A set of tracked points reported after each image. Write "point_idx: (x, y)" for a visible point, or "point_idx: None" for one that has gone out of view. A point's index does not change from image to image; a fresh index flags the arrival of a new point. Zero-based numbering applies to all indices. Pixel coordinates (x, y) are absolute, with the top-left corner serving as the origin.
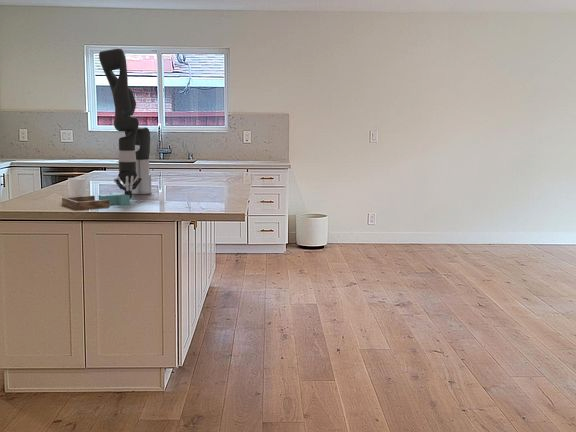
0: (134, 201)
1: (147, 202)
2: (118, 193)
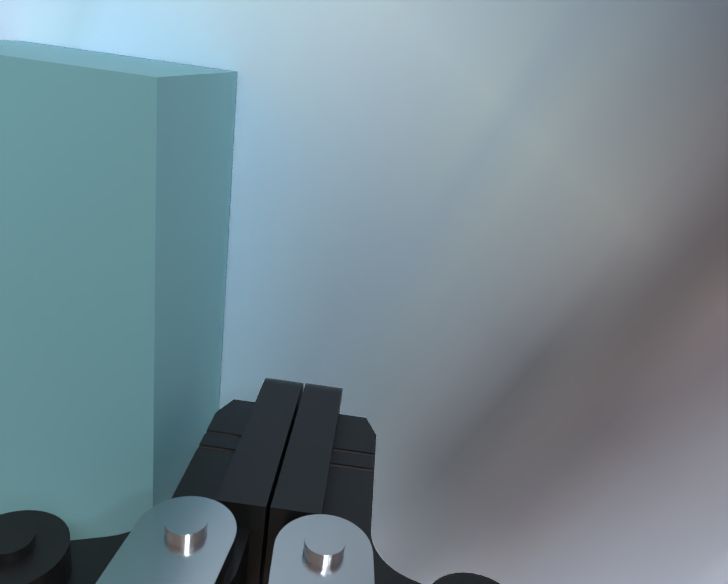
0: (502, 331)
1: (589, 575)
2: (65, 302)
